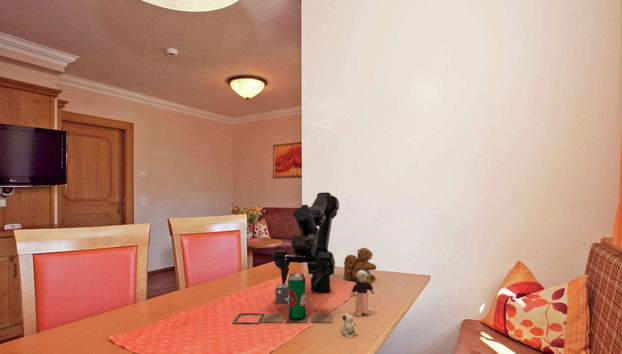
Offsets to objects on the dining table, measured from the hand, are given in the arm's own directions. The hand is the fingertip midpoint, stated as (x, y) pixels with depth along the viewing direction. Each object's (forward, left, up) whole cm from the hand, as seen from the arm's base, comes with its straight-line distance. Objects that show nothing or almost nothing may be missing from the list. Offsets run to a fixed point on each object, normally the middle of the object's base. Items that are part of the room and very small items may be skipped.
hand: (298, 284), depth 97 cm
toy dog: (-14, +11, -9) cm, 20 cm away
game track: (+4, +1, -9) cm, 10 cm away
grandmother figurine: (-19, -3, -9) cm, 21 cm away
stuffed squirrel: (-21, -41, -10) cm, 47 cm away
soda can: (0, +1, -9) cm, 9 cm away
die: (+6, -15, -9) cm, 19 cm away
